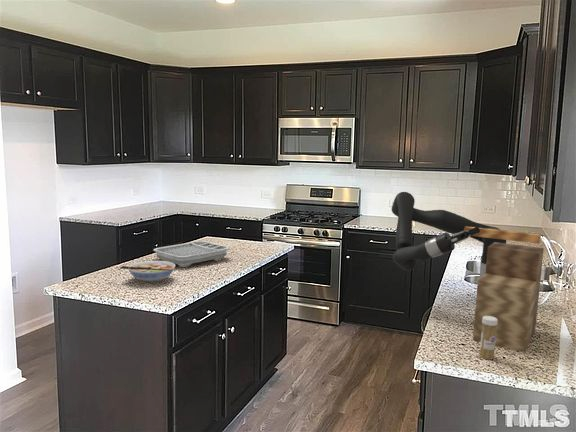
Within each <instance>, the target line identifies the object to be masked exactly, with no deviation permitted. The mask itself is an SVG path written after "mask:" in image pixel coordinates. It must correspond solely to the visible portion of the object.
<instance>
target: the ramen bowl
mask: <svg viewBox="0 0 576 432" xmlns="http://www.w3.org/2000/svg"><path fill="white" fill-rule="evenodd" d="M176 265H177V264H175V263H171V262H166V261H163V260H147V261H140V262H134V263H132V264H129V265H128V266H126V265H125V266H124V265H122V266H119V269H120V270H121V269H122V270H128V271H129V272H130V274H131V275H132V277H134V279H137V280H139V281H142V282H145V283H148V284H149V283H150V284H151V283H158V282H161V281H163V280H164V279H167V278H168V277H170V276H171V274H172V273H173V272H174V269H175V267H176Z"/></svg>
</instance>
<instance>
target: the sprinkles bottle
mask: <svg viewBox="0 0 576 432" xmlns="http://www.w3.org/2000/svg"><path fill="white" fill-rule="evenodd" d="M497 322H498V320H497V318H495V317H492V316H483V318H482V332H481V342H480V343H479V344H480V345H479V346H480V347H479V349H480V350H479V354H478V355H479V357H480V358H482V359H485V360H493V359H495V349H496V345H495V338H496V326H497Z"/></svg>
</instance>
